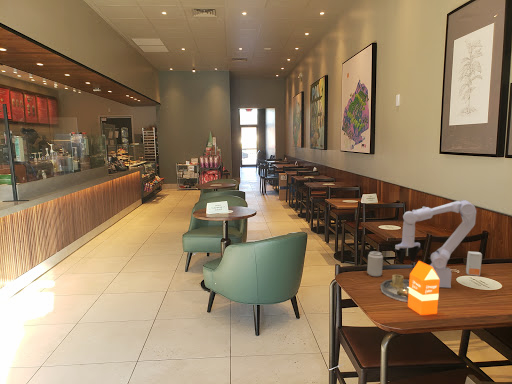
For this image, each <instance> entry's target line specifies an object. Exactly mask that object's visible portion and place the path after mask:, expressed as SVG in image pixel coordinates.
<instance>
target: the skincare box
mask: <svg viewBox="0 0 512 384" xmlns="http://www.w3.org/2000/svg"><path fill="white" fill-rule="evenodd" d="M482 260H483V254H482V253H481V252H479V251H467V257H466V266H465V267H466V268H465V273H466V275H468V276H477V277H479V276H481V269H482Z"/></svg>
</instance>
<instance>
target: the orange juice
mask: <svg viewBox="0 0 512 384" xmlns="http://www.w3.org/2000/svg"><path fill="white" fill-rule="evenodd" d="M409 280H410V281H409V295H408V302H407V307H408V308H409V309H411V310H412V311H414V312H416V313H417V314H419V315H420V316H427V315H436V314H438V304H439V295H440V293H439V290H440V287H439V281H440V279H439V277H438V276H437V274H436V272H435V270H434V269H433V267H432V266H430V264H427V263H425V262H423V261H421V260H418V261H417V263H416V264H415V266H414V268H413V269H412V270H411V271H410V273H409Z"/></svg>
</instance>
